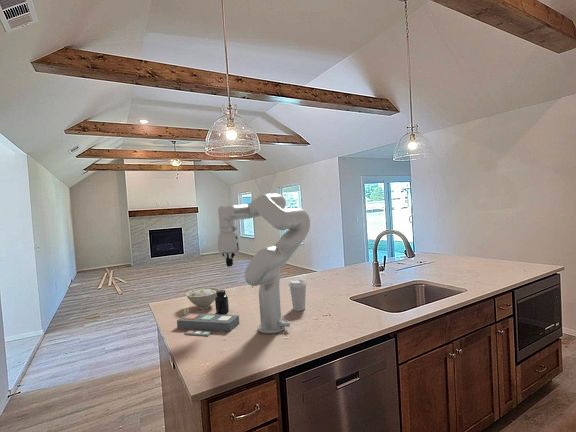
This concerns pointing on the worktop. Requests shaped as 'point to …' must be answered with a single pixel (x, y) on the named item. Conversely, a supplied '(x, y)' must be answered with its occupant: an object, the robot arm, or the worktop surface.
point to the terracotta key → (191, 316)
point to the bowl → (202, 296)
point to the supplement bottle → (221, 302)
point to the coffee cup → (298, 294)
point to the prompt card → (198, 333)
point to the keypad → (208, 323)
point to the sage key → (207, 317)
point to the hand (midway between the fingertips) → (229, 266)
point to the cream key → (224, 318)
